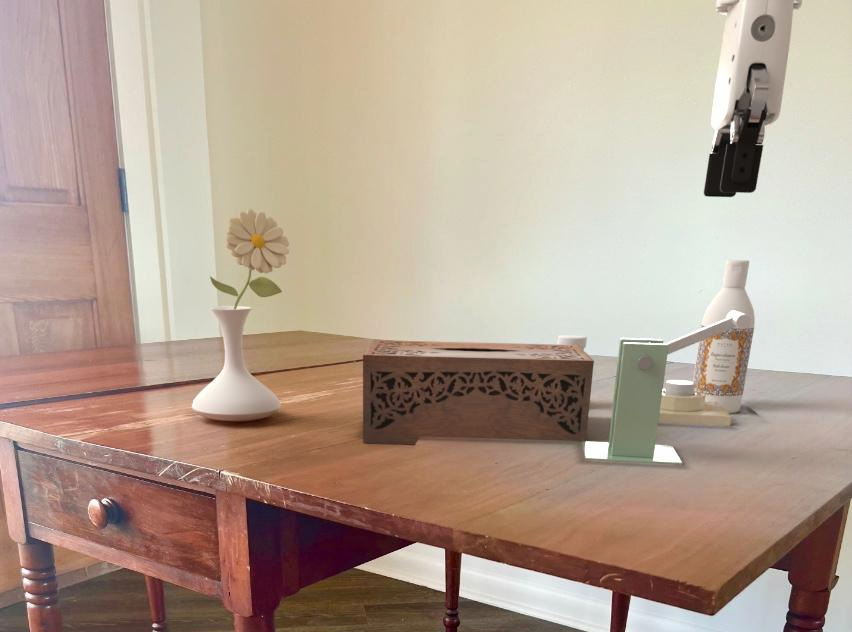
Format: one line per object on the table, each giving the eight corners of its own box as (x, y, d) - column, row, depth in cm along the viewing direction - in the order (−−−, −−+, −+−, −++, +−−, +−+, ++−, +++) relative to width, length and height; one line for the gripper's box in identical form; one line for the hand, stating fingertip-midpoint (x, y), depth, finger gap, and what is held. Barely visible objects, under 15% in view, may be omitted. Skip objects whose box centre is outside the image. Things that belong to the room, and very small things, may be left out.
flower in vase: (192, 429, 106) (174, 206, 97) (193, 411, 117) (177, 208, 107) (298, 426, 109) (291, 209, 99) (290, 409, 119) (283, 210, 109)
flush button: (690, 394, 115) (692, 380, 114) (694, 398, 111) (697, 385, 111) (662, 392, 115) (664, 379, 115) (666, 397, 112) (668, 383, 111)
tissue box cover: (363, 443, 101) (362, 355, 97) (374, 418, 114) (374, 340, 111) (584, 449, 100) (593, 360, 96) (570, 424, 113) (577, 344, 109)
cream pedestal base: (714, 418, 119) (719, 388, 117) (729, 433, 109) (734, 401, 108) (625, 414, 120) (628, 384, 119) (632, 428, 111) (635, 397, 109)
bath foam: (687, 412, 122) (709, 260, 114) (690, 404, 128) (712, 258, 120) (739, 416, 120) (765, 261, 112) (740, 407, 126) (765, 260, 118)
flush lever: (743, 325, 90) (737, 303, 89) (754, 330, 86) (747, 307, 85) (630, 371, 94) (622, 350, 93) (634, 378, 89) (626, 356, 88)
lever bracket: (670, 455, 98) (687, 338, 93) (681, 474, 91) (699, 347, 86) (581, 451, 99) (592, 335, 94) (584, 468, 92) (597, 344, 87)
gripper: (830, -38, 71) (788, 191, 78) (780, 11, 87) (749, 199, 94) (736, -37, 72) (702, 189, 79) (703, 12, 88) (677, 197, 95)
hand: (727, 194), depth 86 cm, fingers open, 9 cm apart
